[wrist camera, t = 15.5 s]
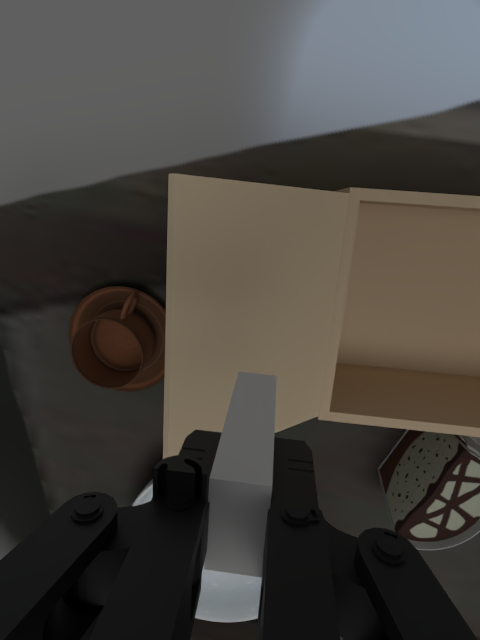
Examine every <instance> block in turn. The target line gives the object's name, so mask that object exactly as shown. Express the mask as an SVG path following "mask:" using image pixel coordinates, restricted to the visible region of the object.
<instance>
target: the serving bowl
mask: <svg viewBox="0 0 480 640" xmlns="http://www.w3.org/2000/svg"><path fill="white" fill-rule="evenodd" d="M152 497H153V479H152V480H151V481H150V482H149V483H148V484H147V485H146V487H145V488H144V489H143V490H142V491H141V493H140V494H139V495H138V497H137V498H136V500H135V501H134V503H133V504H132V506H136V505H141V504H144V503H147V502H149V501H151V499H152ZM204 564H205V561H204ZM261 582H262V578H261V577H254V576H247V575H240V574H233V573H226V572H219V571H212V570H205V569H204V565H203V570H202V580H201V591H200V596H199V601H198V605H197V610H196V615H195V618H198V619H203V620H208V621H214V622H240V621H247V620H252V619H256V618H258V610H259V601H260V591H261Z"/></svg>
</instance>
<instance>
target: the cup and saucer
mask: <svg viewBox="0 0 480 640" xmlns="http://www.w3.org/2000/svg"><path fill="white" fill-rule="evenodd" d="M165 331H166V310H165V309H164V308H163V307H162V305H161V304H160V303H159V302H157V301H156V300H155V299H154V298H152V297H151V296H149V295H148V294H146V293H144V292H142V291H140V290H137V289H134V288H130V287H123V286H112V287H105V288H102V289H99V290H96V291H94V292H92V293H91V294H89V295H88V296H86V297H85V298H84V299H83V300H82V301H81V302H80V303H79V304H78V306H77V307H76V309H75V310H74V312H73V315H72V317H71V320H70V325H69V342H70V346H71V357H72V361H73V363H74V366H75V368H76V369H77V371H78V372H79V373H80V375H81V376H82V377H83V378H84V379H86V380H87V381H88V382H90V383H92V384H93V385H96V386H98V387H101V388H106V389H113V390H117V391H124V392H134V391H140V390H144V389H147V388H149V387H151V386H153V385H155V384H157V383H158V382H159V381H161V380H162V379H163V378H164V377H165Z"/></svg>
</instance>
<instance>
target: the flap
mask: <svg viewBox="0 0 480 640" xmlns="http://www.w3.org/2000/svg"><path fill="white" fill-rule="evenodd" d="M349 194H350V193H342V192H334V191H325V190H316V189H307V188H298V187H289V186H281V185H272V184H263V183H254V182H245V181H236V180H227V179H219V178H210V177H201V176H192V175H183V174H169V182H168V231H167V281H166V331H165V380H164V430H163V459H165V458H167V457H171V456H175V455H178V454H179V452H180V450H181V448H182V445H183V443H184V440H185V438H186V437H187V436H188V435H189V434H191V433H192V432H193V431H194V430H204V431H213V432H221V433H222V430H223V427H224V423H225V419H226V416H227V412H228V408H229V405H230V401H231V397H232V393H233V390H234V386H235V382H236V379H237V375H238V372H247V373H256V374H266V375H275V376H277V379H276V405H275V431H274V433H276V432H279V431H282V430H284V429H287V428H289V427H292V426H294V425H297V424H299V423H302V422H304V421H307V420H309V419H312V418H315V417H317V416H319V411H320V404H321V397H322V389H323V382H324V375H325V368H326V360H327V353H328V346H329V339H330V331H331V324H332V317H333V310H334V302H335V295H336V288H337V281H338V273H339V266H340V259H341V252H342V244H343V237H344V230H345V223H346V215H347V208H348V201H349Z"/></svg>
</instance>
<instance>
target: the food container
mask: <svg viewBox="0 0 480 640" xmlns="http://www.w3.org/2000/svg"><path fill="white" fill-rule="evenodd" d="M462 436H463V438H464V440H465V442H464V441H463V440H462V439H461V438H460V437H459V436H458V435H455V434H446V433H436V432H427V431H418V430H409V429H406V430H405V432H404V433H403V435H402V436H401V437H400V439H399V440H398V441H397V443H396V444H395V445H394V447H393V448H392V449H391V451H390V452H389V453H388V455H387V456H386V457H385V459H384V460H383V461H382V463H381V464H380V465H379V467H378V468H377V471H378V475H379V479H380V483H381V487H382V491H383V495H384V499H385V503H386V507H387V512H388V516H389V520H390V524H391V528H392V530H391V531H393V532H396V533H398V534H400V535H401V536H403V537H404V538H406V539H407V540H409V541H410V542H411V543H412V545H413V546H414V547H415V548H416V549H419V550H440V549H446V548H450V547H453V546H456V545H459V544H462V543H463V542H465V541H467V540H469V539H471V538H472V537H474V536H475V535H476V534H478V533H479V532H480V446H479V445H477V444H476V443H475V442H474V441H473V440H472V439H470V438H469V437H467V436H464V435H462ZM388 530H389V529H388Z"/></svg>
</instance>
